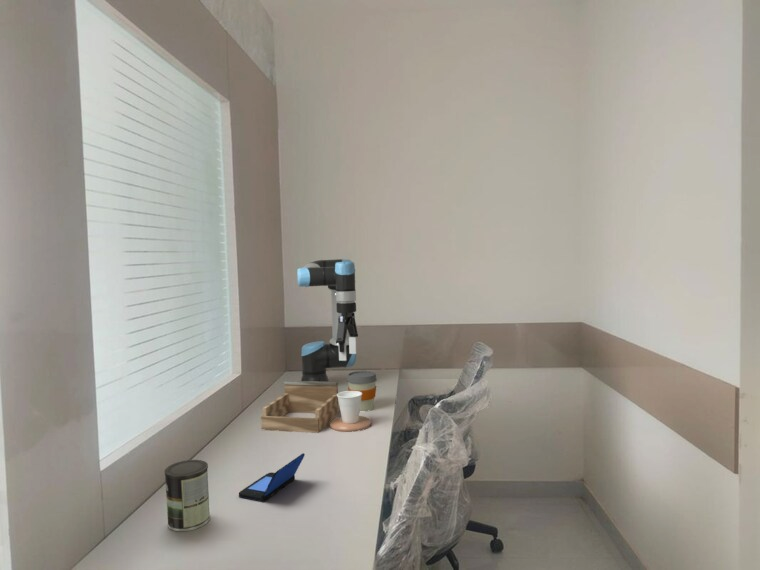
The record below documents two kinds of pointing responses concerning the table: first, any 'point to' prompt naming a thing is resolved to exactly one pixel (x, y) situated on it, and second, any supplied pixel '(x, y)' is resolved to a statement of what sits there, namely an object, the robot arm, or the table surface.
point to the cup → (349, 406)
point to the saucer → (341, 426)
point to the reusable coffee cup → (363, 387)
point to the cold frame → (302, 407)
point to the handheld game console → (272, 482)
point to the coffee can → (187, 495)
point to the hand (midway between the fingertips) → (348, 356)
